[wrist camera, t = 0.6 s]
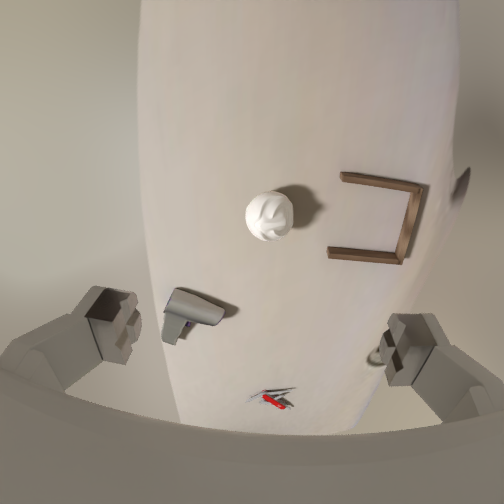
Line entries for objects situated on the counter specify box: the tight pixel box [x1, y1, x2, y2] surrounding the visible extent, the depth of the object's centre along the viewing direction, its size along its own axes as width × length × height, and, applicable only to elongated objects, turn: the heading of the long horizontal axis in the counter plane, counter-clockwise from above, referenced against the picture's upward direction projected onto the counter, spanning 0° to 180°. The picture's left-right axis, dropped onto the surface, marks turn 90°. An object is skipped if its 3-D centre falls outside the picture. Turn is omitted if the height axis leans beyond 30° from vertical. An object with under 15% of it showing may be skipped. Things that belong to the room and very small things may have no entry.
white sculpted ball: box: [246, 191, 293, 241], centre depth 49 cm, size 8×8×8 cm
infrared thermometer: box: [161, 289, 225, 345], centre depth 65 cm, size 5×12×15 cm
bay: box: [327, 172, 423, 265], centre depth 51 cm, size 15×14×2 cm
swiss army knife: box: [246, 390, 292, 410], centre depth 79 cm, size 12×14×2 cm
